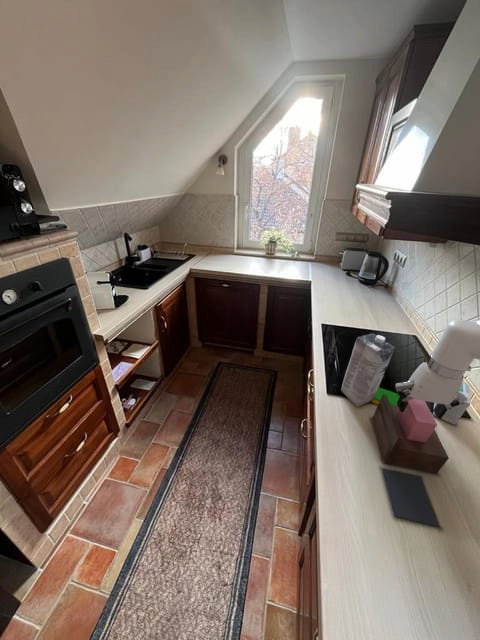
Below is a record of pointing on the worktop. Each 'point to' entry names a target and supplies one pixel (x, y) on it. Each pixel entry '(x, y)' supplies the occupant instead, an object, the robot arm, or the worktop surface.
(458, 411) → the light bulb box
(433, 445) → the walnut shelf
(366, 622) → the worktop surface
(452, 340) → the robot arm
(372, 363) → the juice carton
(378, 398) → the dish sponge
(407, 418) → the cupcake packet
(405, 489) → the slate mat
